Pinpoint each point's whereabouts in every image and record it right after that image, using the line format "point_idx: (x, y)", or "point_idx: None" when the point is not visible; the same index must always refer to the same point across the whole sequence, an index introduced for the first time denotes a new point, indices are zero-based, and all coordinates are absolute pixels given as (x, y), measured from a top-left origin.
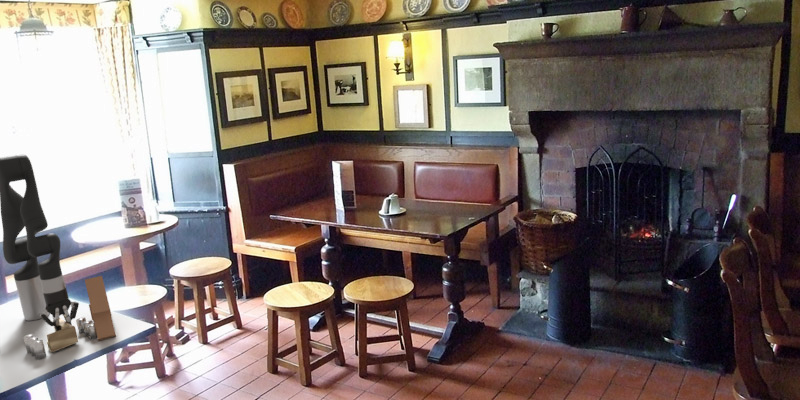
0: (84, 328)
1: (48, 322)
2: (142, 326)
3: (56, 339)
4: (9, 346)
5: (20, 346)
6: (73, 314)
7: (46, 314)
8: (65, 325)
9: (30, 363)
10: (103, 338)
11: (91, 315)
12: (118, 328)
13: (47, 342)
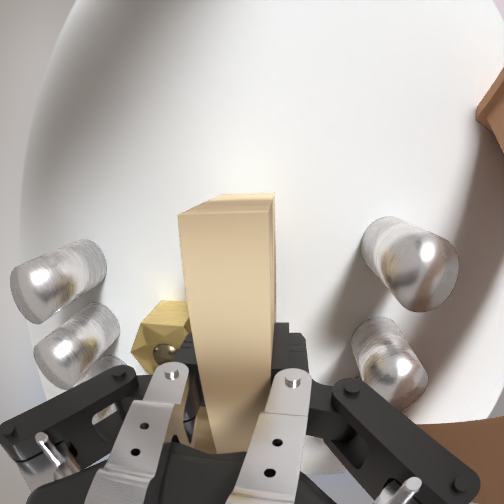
0: (362, 378)
1: (102, 434)
2: (479, 415)
3: None
4: (48, 83)
5: (67, 126)
6: (344, 457)
7: (63, 477)
8: (236, 438)
9: None
10: None
11: (493, 96)
12: (462, 373)
13: (132, 354)
